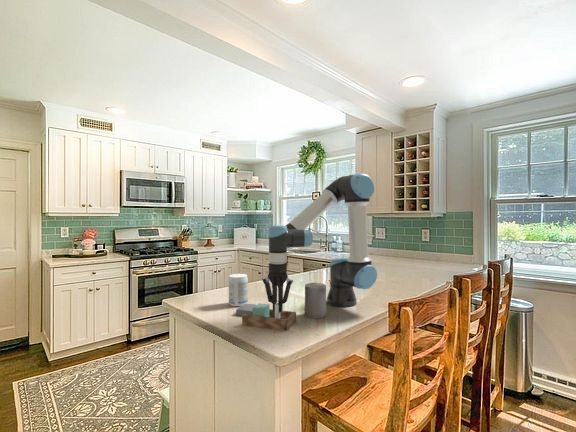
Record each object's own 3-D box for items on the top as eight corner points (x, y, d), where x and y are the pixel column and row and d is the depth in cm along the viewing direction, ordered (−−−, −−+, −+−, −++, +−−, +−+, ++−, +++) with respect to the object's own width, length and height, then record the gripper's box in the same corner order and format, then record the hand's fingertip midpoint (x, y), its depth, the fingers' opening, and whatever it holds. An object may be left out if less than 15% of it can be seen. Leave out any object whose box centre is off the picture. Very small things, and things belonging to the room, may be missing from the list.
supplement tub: (248, 301, 163) (248, 273, 163) (247, 307, 154) (247, 277, 154) (230, 301, 163) (230, 273, 163) (227, 307, 153) (227, 277, 153)
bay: (296, 321, 133) (296, 311, 133) (287, 330, 122) (287, 320, 122) (253, 316, 139) (253, 307, 139) (242, 324, 129) (242, 315, 129)
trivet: (265, 310, 148) (265, 305, 148) (256, 317, 138) (256, 311, 138) (246, 308, 151) (246, 303, 151) (236, 314, 141) (236, 309, 141)
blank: (269, 320, 134) (269, 304, 134) (264, 325, 128) (264, 308, 128) (258, 319, 136) (258, 303, 136) (252, 323, 130) (252, 307, 130)
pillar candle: (304, 311, 147) (304, 279, 146) (325, 311, 146) (325, 279, 146) (305, 318, 137) (305, 284, 137) (327, 319, 137) (327, 284, 136)
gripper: (295, 262, 131) (295, 318, 131) (266, 260, 135) (266, 315, 135) (289, 264, 124) (289, 324, 124) (259, 263, 128) (259, 320, 128)
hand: (277, 319), depth 130 cm, fingers closed
